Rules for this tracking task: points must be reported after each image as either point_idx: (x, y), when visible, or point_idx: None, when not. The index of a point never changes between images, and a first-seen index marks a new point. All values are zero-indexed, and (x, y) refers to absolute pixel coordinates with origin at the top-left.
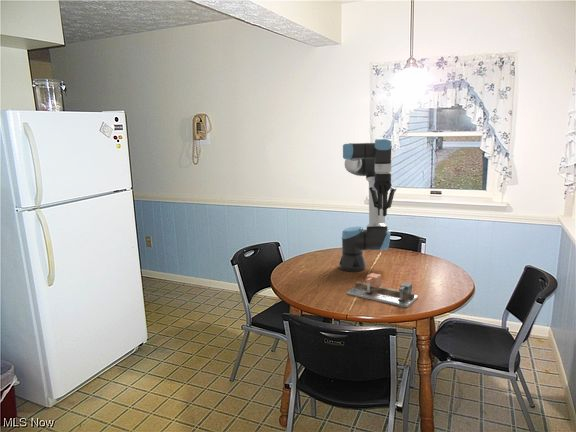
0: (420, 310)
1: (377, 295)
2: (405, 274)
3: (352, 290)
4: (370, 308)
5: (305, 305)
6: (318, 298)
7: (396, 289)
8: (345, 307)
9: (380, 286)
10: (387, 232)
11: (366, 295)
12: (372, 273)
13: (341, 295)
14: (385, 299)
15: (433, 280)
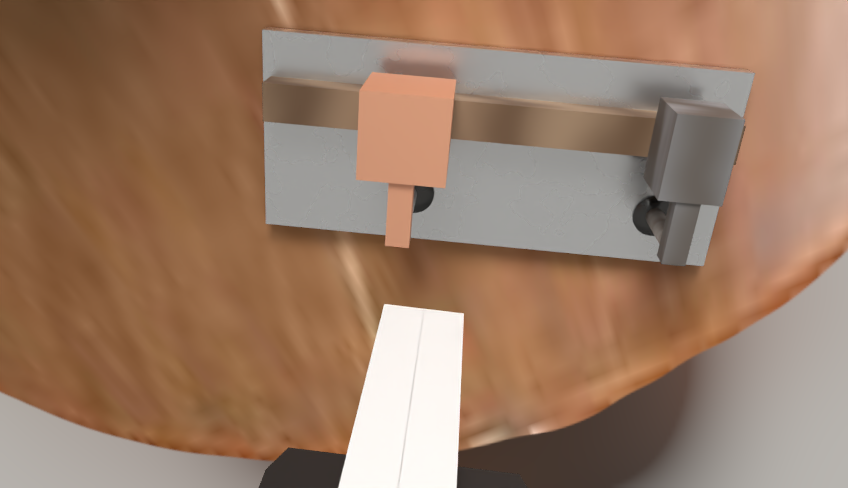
0: (785, 252)
1: (478, 199)
2: None
3: (287, 191)
4: (492, 344)
5: (163, 443)
6: (160, 343)
7: (597, 113)
8: (360, 386)
9: (464, 108)
10: None
11: (411, 231)
12: (373, 100)
13: (250, 248)
14: (549, 240)
15: None
